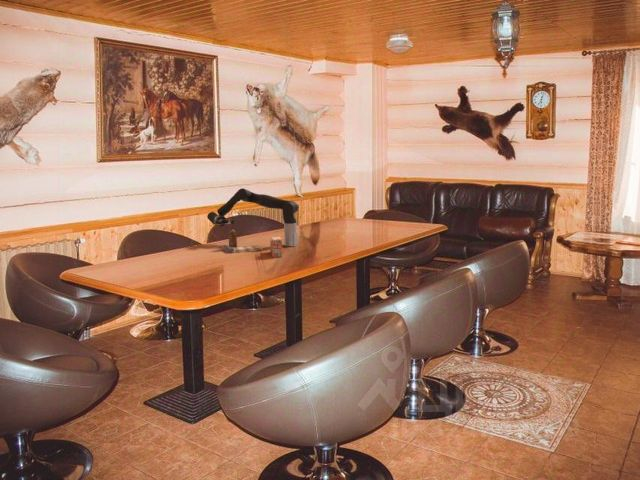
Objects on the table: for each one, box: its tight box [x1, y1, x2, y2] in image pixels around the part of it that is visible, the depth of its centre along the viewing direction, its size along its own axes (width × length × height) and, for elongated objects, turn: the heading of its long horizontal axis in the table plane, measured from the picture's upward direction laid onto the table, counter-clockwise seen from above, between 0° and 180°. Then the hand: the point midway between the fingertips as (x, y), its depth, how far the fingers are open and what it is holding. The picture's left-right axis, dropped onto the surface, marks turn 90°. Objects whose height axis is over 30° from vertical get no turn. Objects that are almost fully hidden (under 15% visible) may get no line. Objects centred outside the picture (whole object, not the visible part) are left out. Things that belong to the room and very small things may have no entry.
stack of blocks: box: [269, 236, 283, 258], centre depth 425 cm, size 21×6×12 cm, turn 9°
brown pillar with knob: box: [228, 229, 238, 248], centre depth 444 cm, size 4×4×14 cm
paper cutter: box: [221, 244, 264, 254], centre depth 443 cm, size 25×17×3 cm
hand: (227, 222), depth 452 cm, fingers open, 8 cm apart
